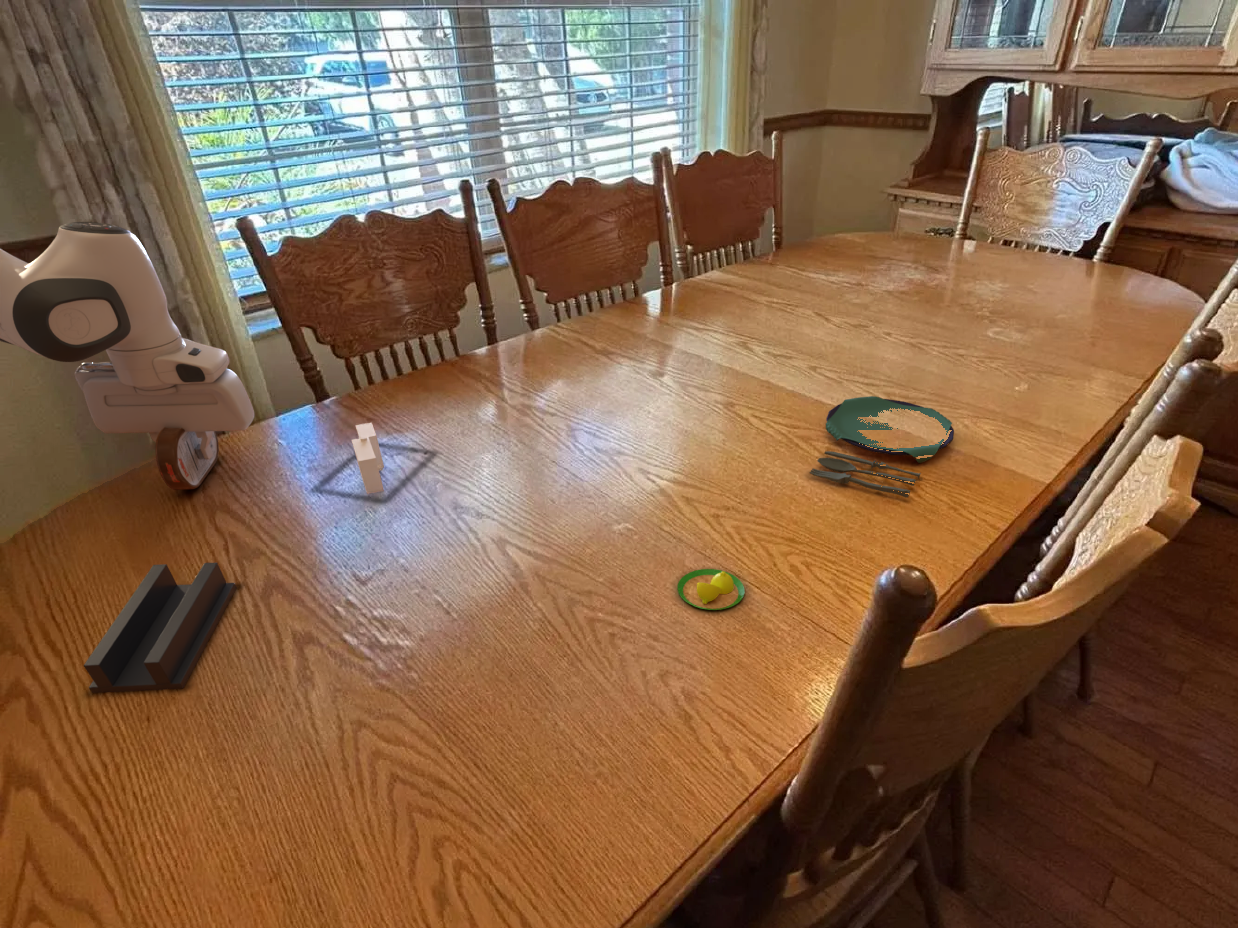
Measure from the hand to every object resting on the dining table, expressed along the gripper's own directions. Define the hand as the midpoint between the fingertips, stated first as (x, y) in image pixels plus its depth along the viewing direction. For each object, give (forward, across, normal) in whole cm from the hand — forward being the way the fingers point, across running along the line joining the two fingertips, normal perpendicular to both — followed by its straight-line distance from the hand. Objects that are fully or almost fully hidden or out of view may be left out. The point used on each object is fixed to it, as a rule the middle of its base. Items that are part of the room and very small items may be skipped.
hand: (192, 458), depth 106 cm
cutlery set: (+3, +102, +3) cm, 102 cm away
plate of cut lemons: (+3, +70, -32) cm, 77 cm away
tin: (+3, 0, 0) cm, 3 cm away
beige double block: (+3, +25, 0) cm, 26 cm away
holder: (+3, +9, -36) cm, 37 cm away
